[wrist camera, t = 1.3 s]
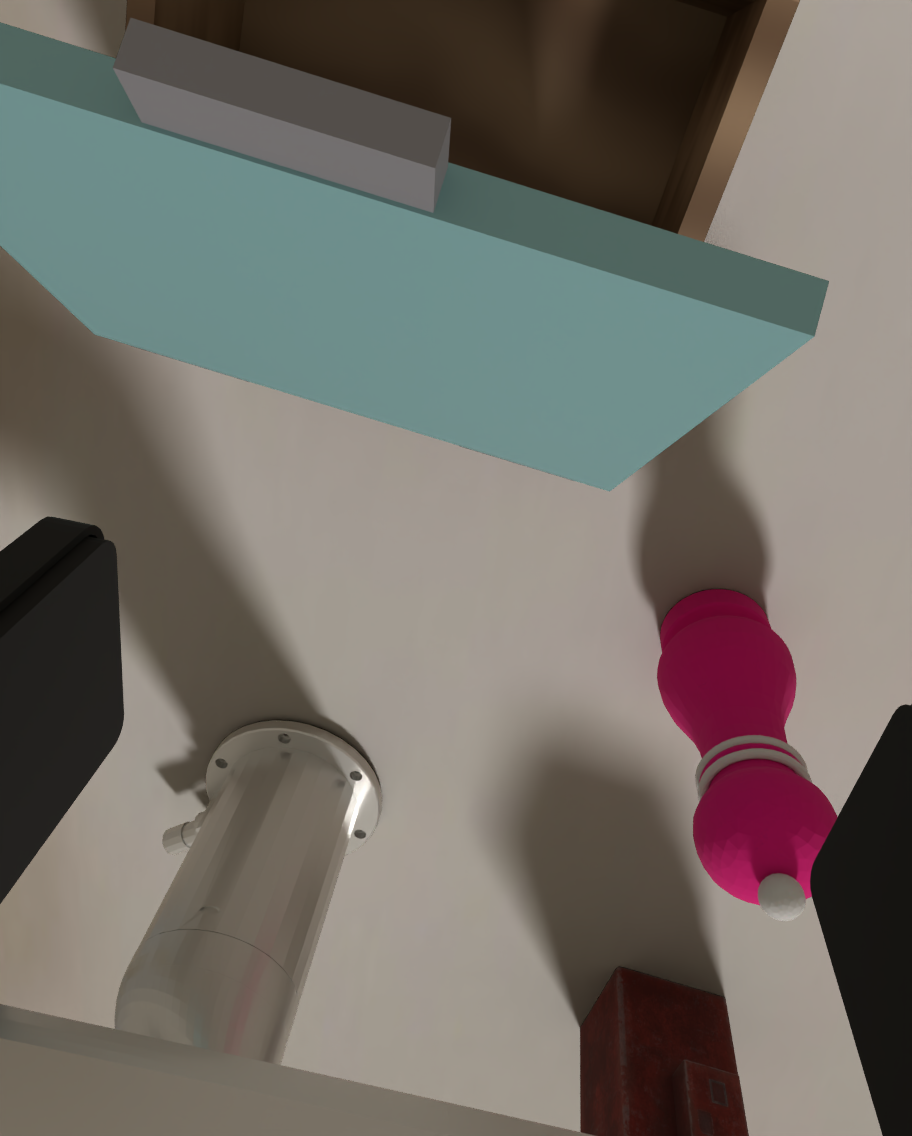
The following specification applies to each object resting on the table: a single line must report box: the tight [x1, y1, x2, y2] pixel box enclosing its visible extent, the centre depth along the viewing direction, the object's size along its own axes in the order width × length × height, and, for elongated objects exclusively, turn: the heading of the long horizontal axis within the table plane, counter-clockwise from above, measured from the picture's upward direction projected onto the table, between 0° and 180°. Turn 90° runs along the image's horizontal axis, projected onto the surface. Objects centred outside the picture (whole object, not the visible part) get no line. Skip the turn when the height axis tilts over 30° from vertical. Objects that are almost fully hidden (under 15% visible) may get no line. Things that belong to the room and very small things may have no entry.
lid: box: [0, 18, 829, 491], centre depth 25 cm, size 20×22×1 cm
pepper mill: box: [657, 589, 837, 921], centre depth 41 cm, size 7×7×20 cm
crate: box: [125, 0, 800, 242], centre depth 35 cm, size 18×22×10 cm
